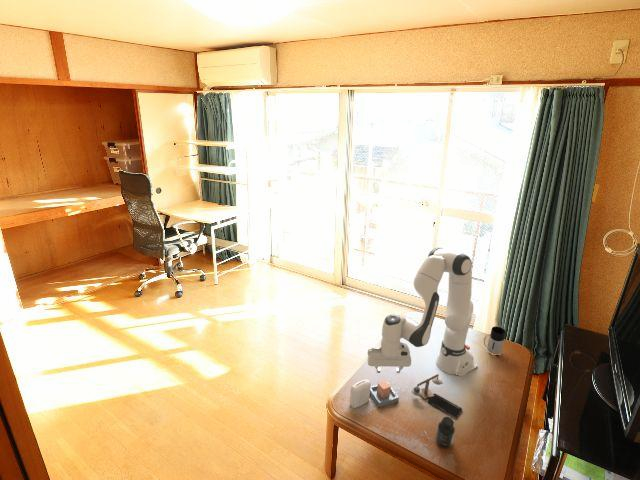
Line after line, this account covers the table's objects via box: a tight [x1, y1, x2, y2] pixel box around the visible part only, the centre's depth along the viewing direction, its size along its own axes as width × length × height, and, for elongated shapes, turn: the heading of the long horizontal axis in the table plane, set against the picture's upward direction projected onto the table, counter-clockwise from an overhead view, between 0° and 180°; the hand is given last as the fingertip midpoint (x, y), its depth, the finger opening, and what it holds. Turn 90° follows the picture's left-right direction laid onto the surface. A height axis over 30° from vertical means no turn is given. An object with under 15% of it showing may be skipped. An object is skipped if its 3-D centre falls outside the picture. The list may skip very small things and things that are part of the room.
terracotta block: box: [377, 380, 392, 399], centre depth 182 cm, size 4×4×6 cm
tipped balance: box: [411, 373, 443, 401], centre depth 184 cm, size 17×6×11 cm, turn 111°
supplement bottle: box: [435, 416, 456, 449], centre depth 158 cm, size 7×7×12 cm
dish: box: [370, 381, 400, 408], centre depth 183 cm, size 11×11×2 cm
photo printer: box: [349, 379, 372, 409], centre depth 177 cm, size 10×4×12 cm, turn 123°
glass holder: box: [483, 325, 507, 354], centre depth 216 cm, size 9×14×15 cm, turn 113°
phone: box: [426, 393, 463, 420], centre depth 179 cm, size 8×1×15 cm
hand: (388, 372), depth 177 cm, fingers open, 8 cm apart
